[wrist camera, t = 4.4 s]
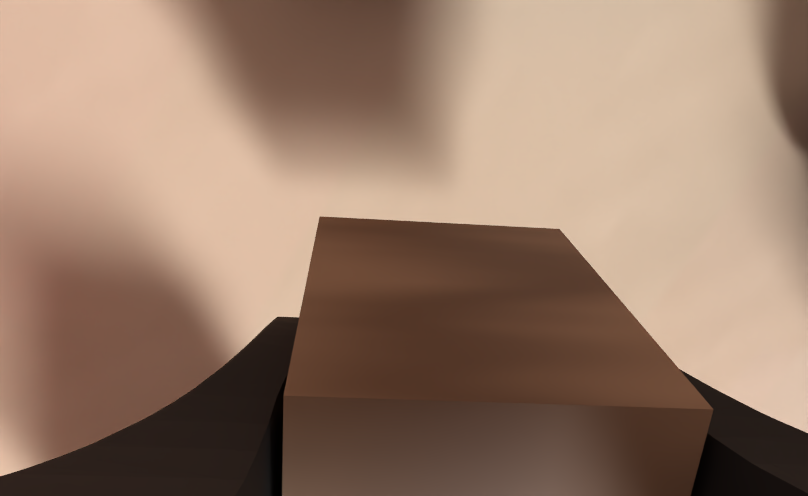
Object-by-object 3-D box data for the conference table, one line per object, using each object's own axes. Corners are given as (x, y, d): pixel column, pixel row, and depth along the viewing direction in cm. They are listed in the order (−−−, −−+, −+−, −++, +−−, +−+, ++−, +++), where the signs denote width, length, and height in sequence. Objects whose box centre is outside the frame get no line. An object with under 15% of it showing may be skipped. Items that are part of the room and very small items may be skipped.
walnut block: (559, 228, 13) (713, 409, 7) (527, 430, 14) (633, 709, 9) (319, 216, 12) (283, 395, 7) (313, 425, 14) (278, 711, 8)
